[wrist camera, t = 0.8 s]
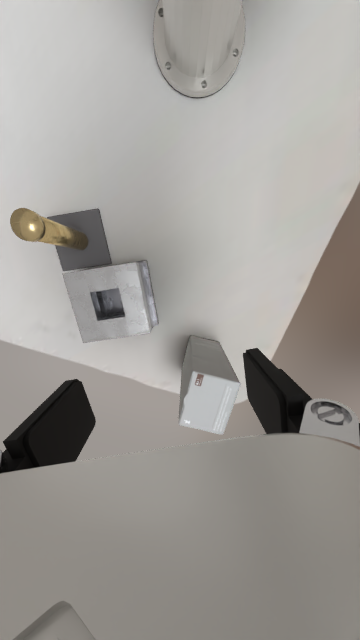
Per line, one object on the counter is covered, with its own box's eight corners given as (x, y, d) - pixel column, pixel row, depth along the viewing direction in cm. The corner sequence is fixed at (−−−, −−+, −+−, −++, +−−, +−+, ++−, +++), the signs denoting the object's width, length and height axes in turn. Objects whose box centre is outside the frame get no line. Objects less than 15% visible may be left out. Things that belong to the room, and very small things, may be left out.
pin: (67, 232, 33) (5, 210, 21) (86, 229, 32) (34, 205, 21) (73, 252, 33) (16, 242, 22) (91, 249, 33) (44, 238, 22)
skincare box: (209, 375, 40) (228, 439, 25) (177, 368, 40) (176, 429, 25) (220, 339, 38) (248, 385, 23) (186, 331, 38) (191, 373, 22)
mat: (48, 217, 32) (46, 217, 32) (98, 209, 32) (98, 208, 32) (64, 271, 35) (63, 271, 34) (111, 263, 34) (110, 263, 34)
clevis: (83, 270, 35) (57, 270, 27) (147, 260, 34) (138, 258, 27) (100, 331, 38) (81, 346, 30) (158, 323, 37) (153, 335, 30)
